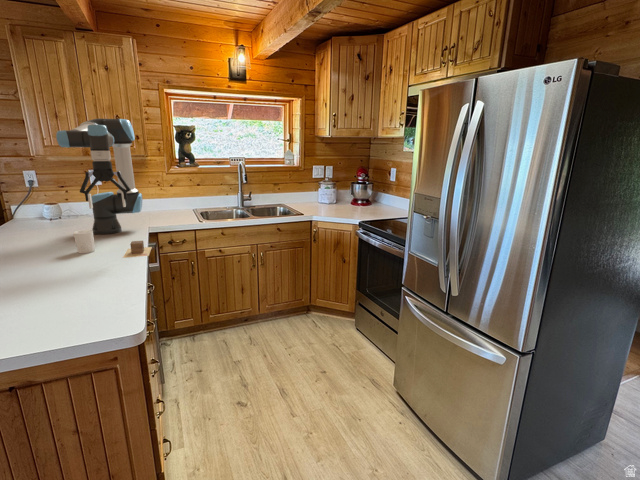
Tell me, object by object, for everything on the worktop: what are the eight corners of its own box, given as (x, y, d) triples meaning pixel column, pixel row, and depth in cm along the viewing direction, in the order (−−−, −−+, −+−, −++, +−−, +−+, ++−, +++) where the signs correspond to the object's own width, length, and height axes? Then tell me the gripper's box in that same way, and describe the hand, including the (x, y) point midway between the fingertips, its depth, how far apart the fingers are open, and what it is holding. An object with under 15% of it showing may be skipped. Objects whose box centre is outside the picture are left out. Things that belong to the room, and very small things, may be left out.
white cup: (74, 254, 172) (70, 234, 170) (80, 250, 180) (76, 230, 177) (93, 253, 174) (89, 233, 172) (98, 248, 182) (95, 229, 179)
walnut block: (133, 251, 177) (131, 241, 176) (144, 250, 178) (143, 240, 177) (131, 253, 172) (130, 243, 171) (143, 253, 174) (142, 243, 173)
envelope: (128, 249, 181) (127, 248, 181) (152, 247, 185) (151, 246, 184) (122, 258, 166) (122, 257, 166) (148, 256, 170) (148, 255, 170)
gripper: (66, 161, 156) (74, 209, 161) (131, 160, 164) (136, 207, 169) (71, 160, 163) (79, 207, 167) (133, 160, 171) (138, 205, 175)
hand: (108, 207), depth 168 cm, fingers open, 13 cm apart
